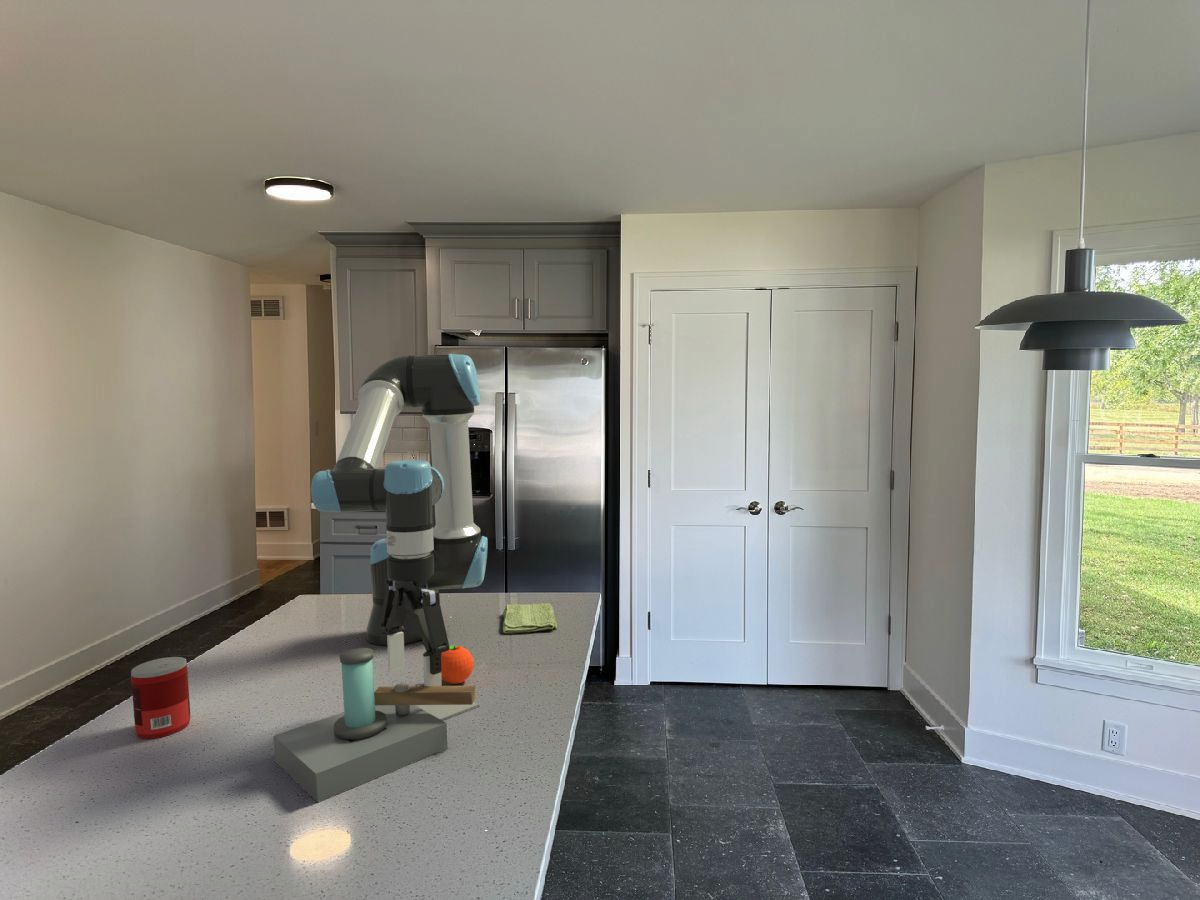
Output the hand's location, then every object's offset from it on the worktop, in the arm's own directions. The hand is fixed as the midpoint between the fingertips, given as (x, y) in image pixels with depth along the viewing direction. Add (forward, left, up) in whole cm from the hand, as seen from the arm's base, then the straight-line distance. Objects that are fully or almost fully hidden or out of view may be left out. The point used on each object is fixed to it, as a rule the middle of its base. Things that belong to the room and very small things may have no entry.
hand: (414, 680), depth 117 cm
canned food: (-29, -31, -7) cm, 43 cm away
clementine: (-9, +13, -7) cm, 17 cm away
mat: (-1, +5, -7) cm, 9 cm away
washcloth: (-27, +46, -7) cm, 54 cm away
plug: (+5, -12, -7) cm, 14 cm away
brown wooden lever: (+8, -2, -2) cm, 8 cm away
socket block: (+5, -12, -7) cm, 14 cm away
